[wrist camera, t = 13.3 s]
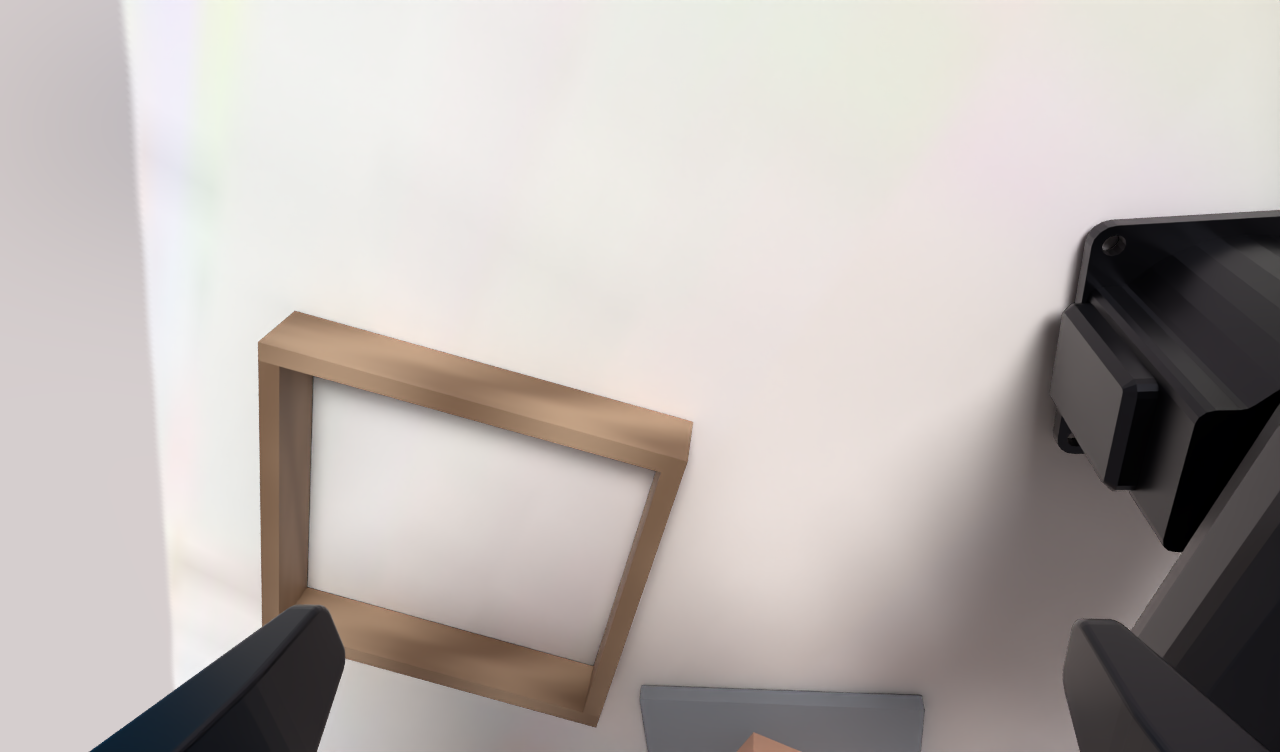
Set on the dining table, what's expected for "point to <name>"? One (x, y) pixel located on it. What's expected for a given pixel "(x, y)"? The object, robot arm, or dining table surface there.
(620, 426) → the walnut well
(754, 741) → the terracotta block
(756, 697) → the slate pad
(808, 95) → the dining table surface
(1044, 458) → the dining table surface
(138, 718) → the robot arm
